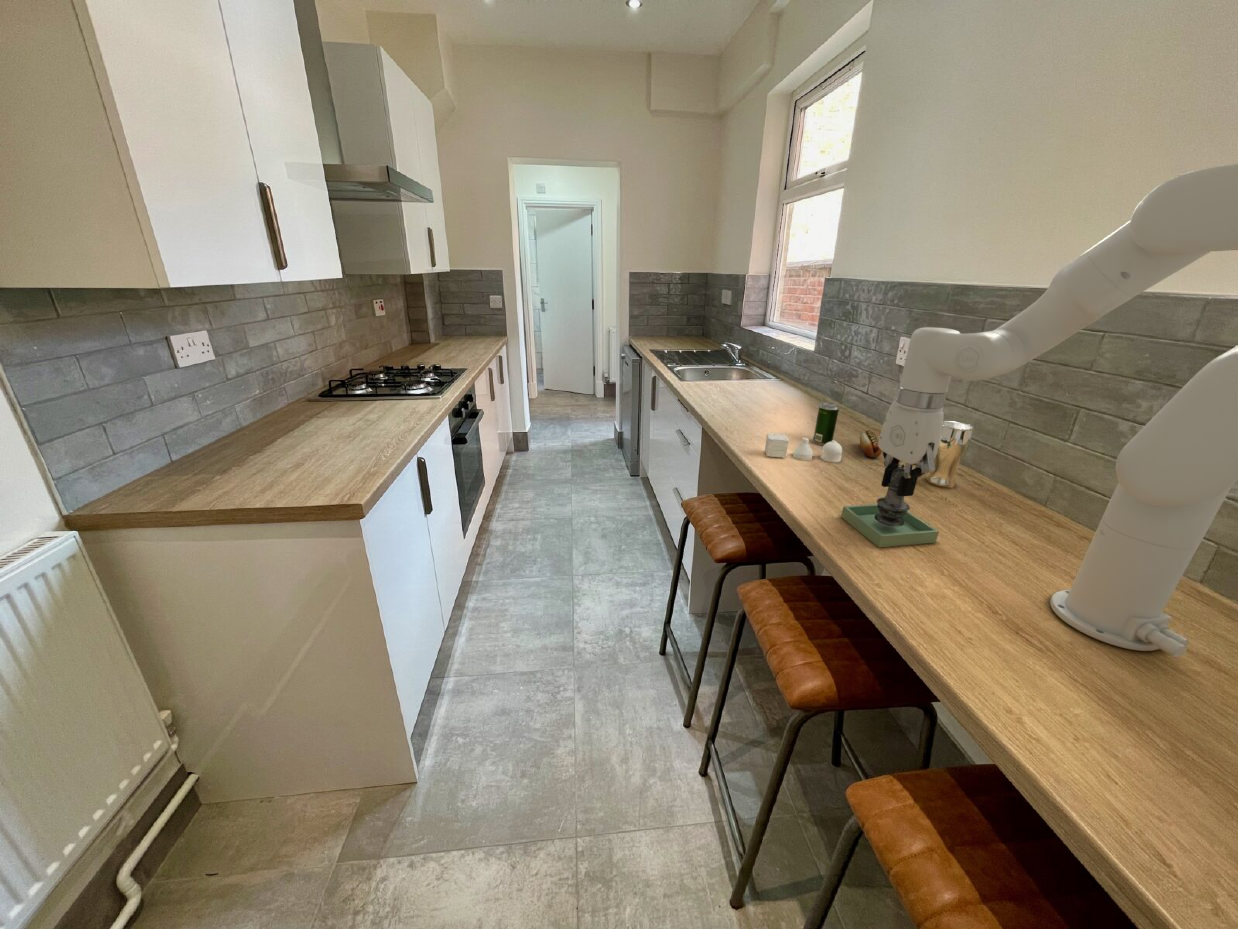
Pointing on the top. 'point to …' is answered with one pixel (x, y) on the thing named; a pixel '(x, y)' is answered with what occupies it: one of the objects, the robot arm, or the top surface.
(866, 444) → the hot dog
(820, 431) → the beer can
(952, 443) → the beer glass
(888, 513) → the salt shaker
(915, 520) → the serving tray
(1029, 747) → the top surface
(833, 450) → the container set
